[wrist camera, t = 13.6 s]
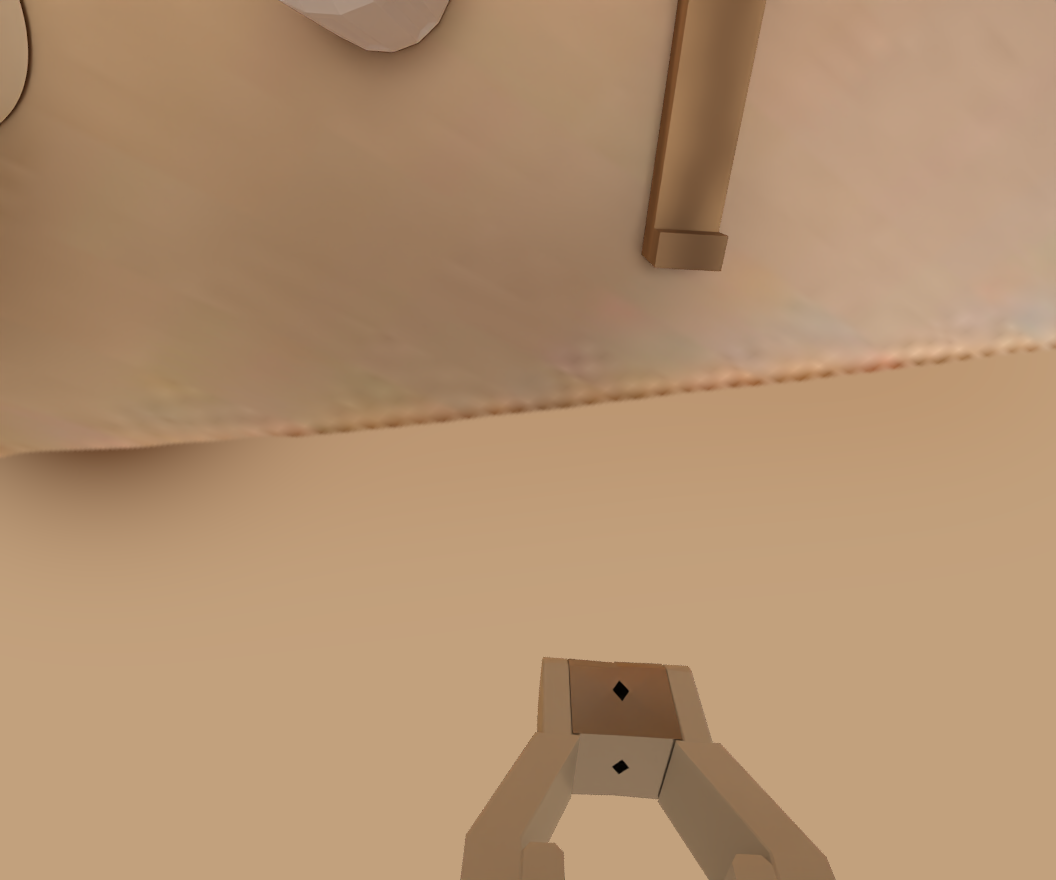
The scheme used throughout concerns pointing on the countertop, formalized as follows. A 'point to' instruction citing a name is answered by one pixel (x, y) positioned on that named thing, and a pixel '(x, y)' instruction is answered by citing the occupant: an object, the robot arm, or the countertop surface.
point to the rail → (700, 131)
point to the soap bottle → (374, 20)
